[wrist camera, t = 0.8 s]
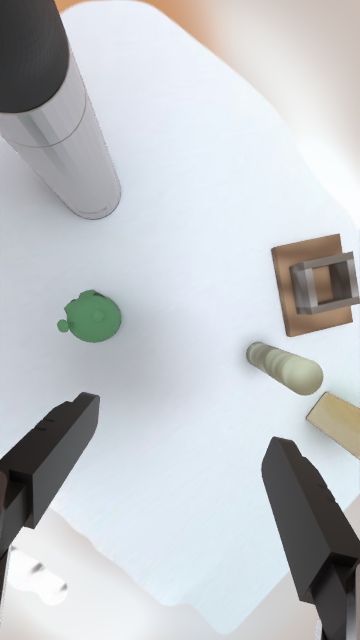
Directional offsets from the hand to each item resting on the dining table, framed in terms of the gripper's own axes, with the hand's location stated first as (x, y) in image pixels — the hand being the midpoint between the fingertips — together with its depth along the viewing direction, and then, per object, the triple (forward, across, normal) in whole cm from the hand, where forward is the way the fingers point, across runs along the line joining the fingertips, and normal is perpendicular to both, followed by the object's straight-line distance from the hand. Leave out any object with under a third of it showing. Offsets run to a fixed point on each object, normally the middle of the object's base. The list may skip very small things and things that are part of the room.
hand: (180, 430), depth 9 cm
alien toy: (+23, +15, +3) cm, 28 cm away
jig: (+31, -20, -8) cm, 37 cm away
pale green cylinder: (+26, -13, +6) cm, 30 cm away
